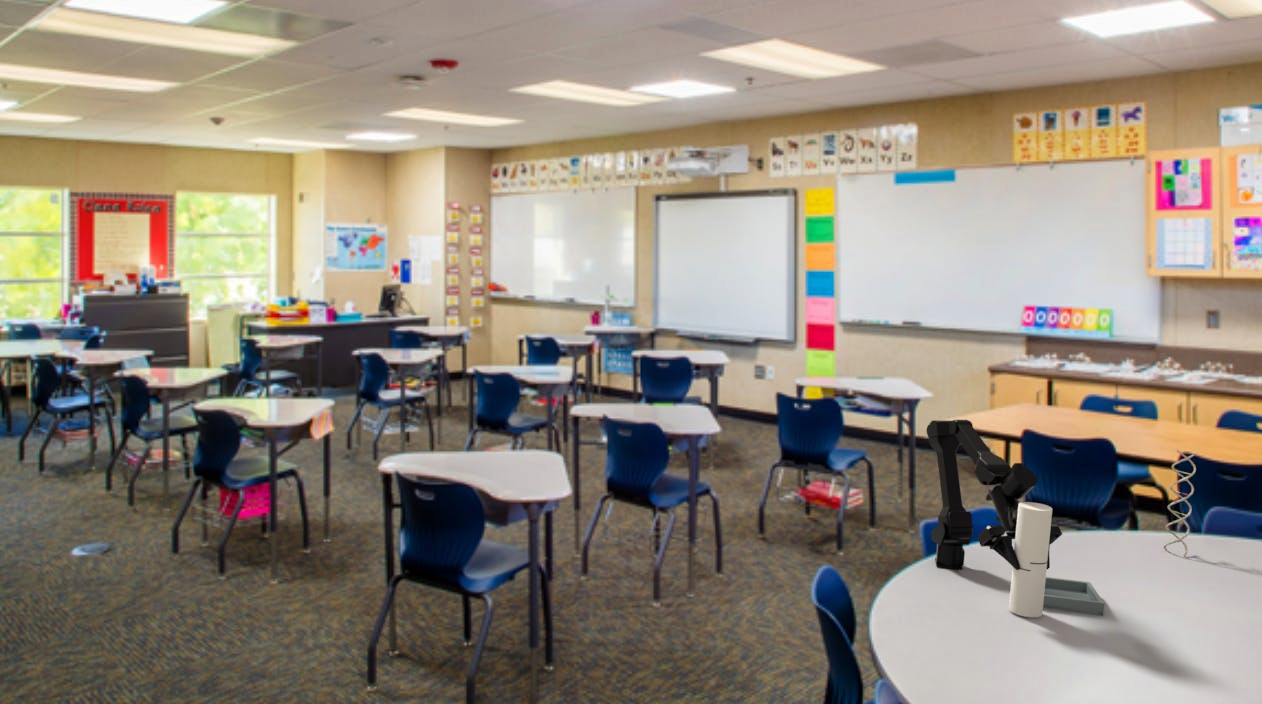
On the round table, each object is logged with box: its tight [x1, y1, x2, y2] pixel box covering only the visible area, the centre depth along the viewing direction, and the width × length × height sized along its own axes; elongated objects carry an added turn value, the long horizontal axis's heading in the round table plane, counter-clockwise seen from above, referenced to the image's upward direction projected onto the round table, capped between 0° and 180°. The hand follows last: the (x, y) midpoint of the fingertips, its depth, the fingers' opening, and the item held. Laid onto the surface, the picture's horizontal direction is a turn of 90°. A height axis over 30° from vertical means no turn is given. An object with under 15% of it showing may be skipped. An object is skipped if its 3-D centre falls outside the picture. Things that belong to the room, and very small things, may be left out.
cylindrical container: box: [1008, 501, 1053, 618], centre depth 205 cm, size 7×7×25 cm
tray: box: [1043, 576, 1105, 617], centre depth 216 cm, size 15×15×3 cm
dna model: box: [1163, 449, 1197, 557], centre depth 256 cm, size 7×6×30 cm
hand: (1033, 569), depth 204 cm, fingers closed on cylindrical container, 7 cm apart
